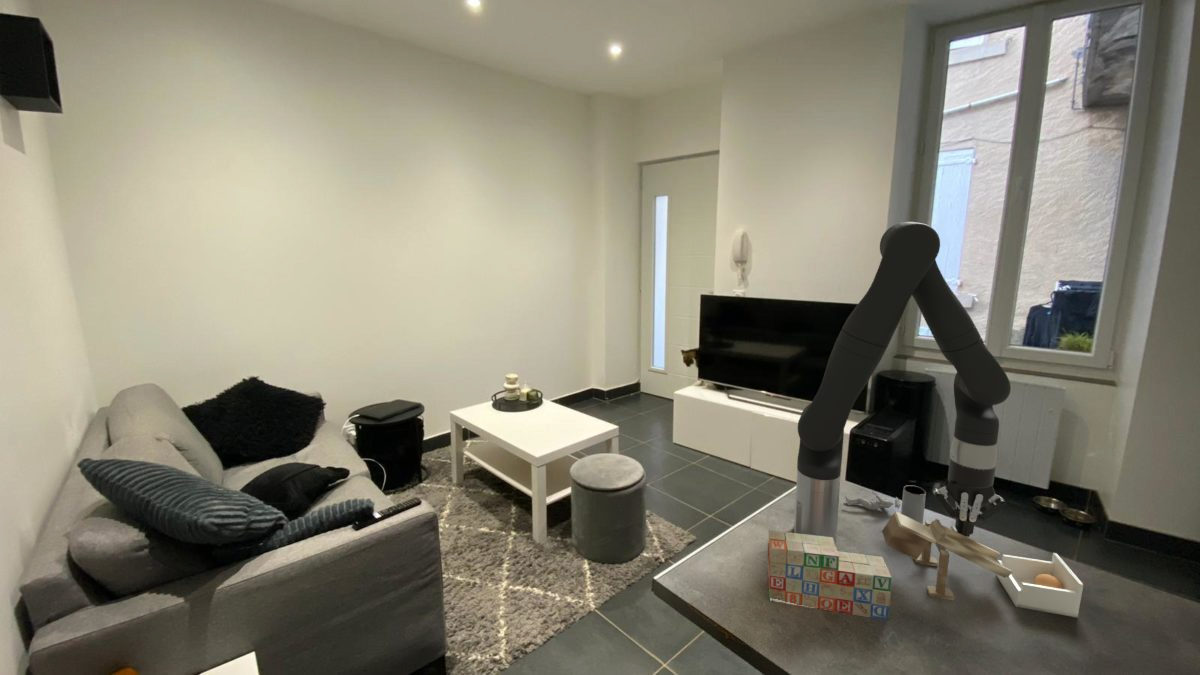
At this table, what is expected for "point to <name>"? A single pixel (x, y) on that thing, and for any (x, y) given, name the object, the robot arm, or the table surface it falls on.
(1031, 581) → the white open box
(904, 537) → the lever
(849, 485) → the table surface
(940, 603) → the table surface
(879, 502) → the soldier figure
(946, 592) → the lever stand
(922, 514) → the planter
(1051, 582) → the ball
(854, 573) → the stack of blocks
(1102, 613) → the table surface
